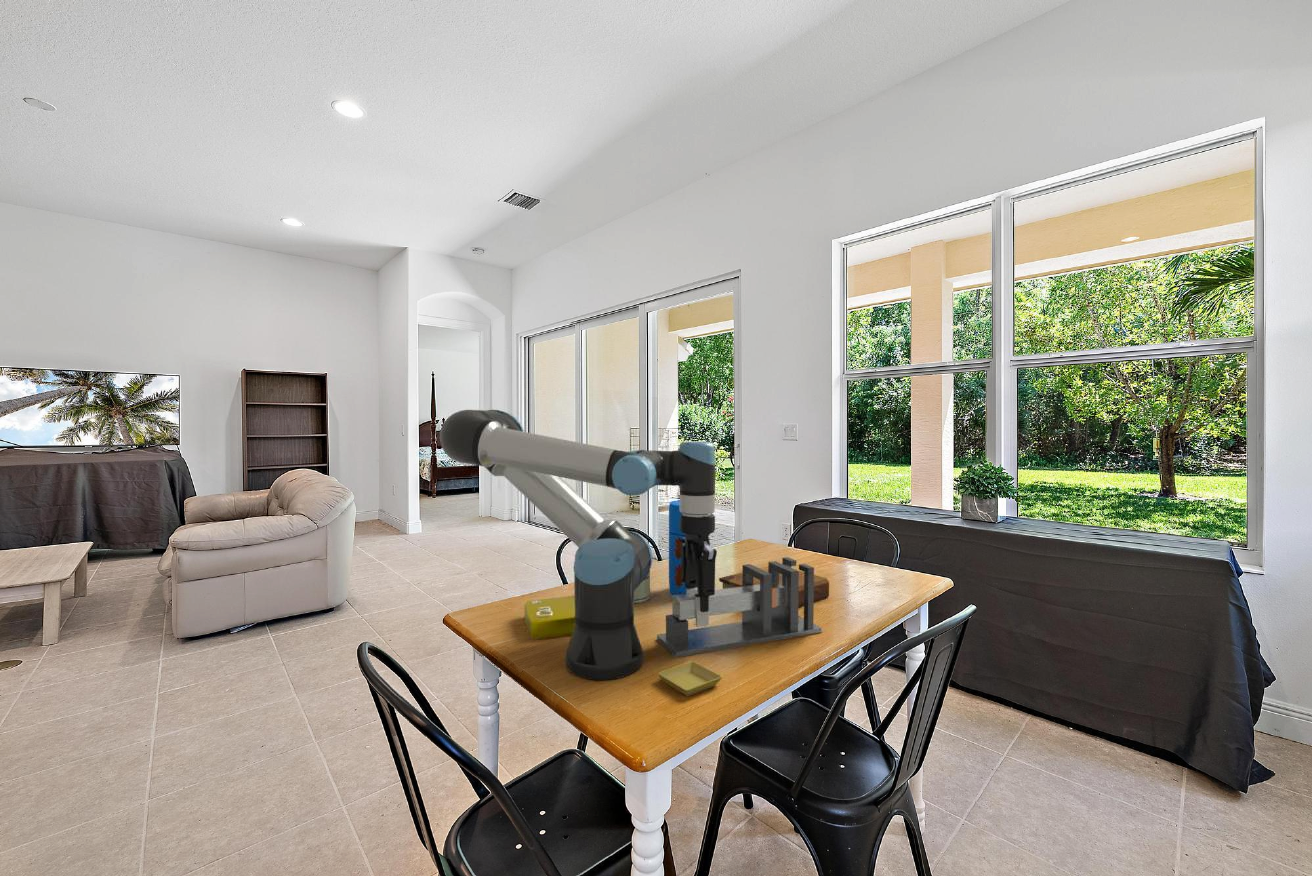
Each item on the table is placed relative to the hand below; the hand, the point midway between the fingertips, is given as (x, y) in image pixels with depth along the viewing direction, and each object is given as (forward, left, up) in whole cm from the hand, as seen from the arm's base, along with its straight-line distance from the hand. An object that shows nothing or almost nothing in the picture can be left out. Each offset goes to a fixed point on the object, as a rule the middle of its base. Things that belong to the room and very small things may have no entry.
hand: (697, 621), depth 119 cm
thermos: (+13, +32, -5) cm, 35 cm away
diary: (+33, +20, -5) cm, 39 cm away
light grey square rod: (+8, 0, +2) cm, 8 cm away
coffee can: (-3, +34, -5) cm, 35 cm away
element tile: (-25, +22, -5) cm, 34 cm away
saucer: (-9, -16, -5) cm, 19 cm away
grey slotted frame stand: (+11, 0, -5) cm, 12 cm away
